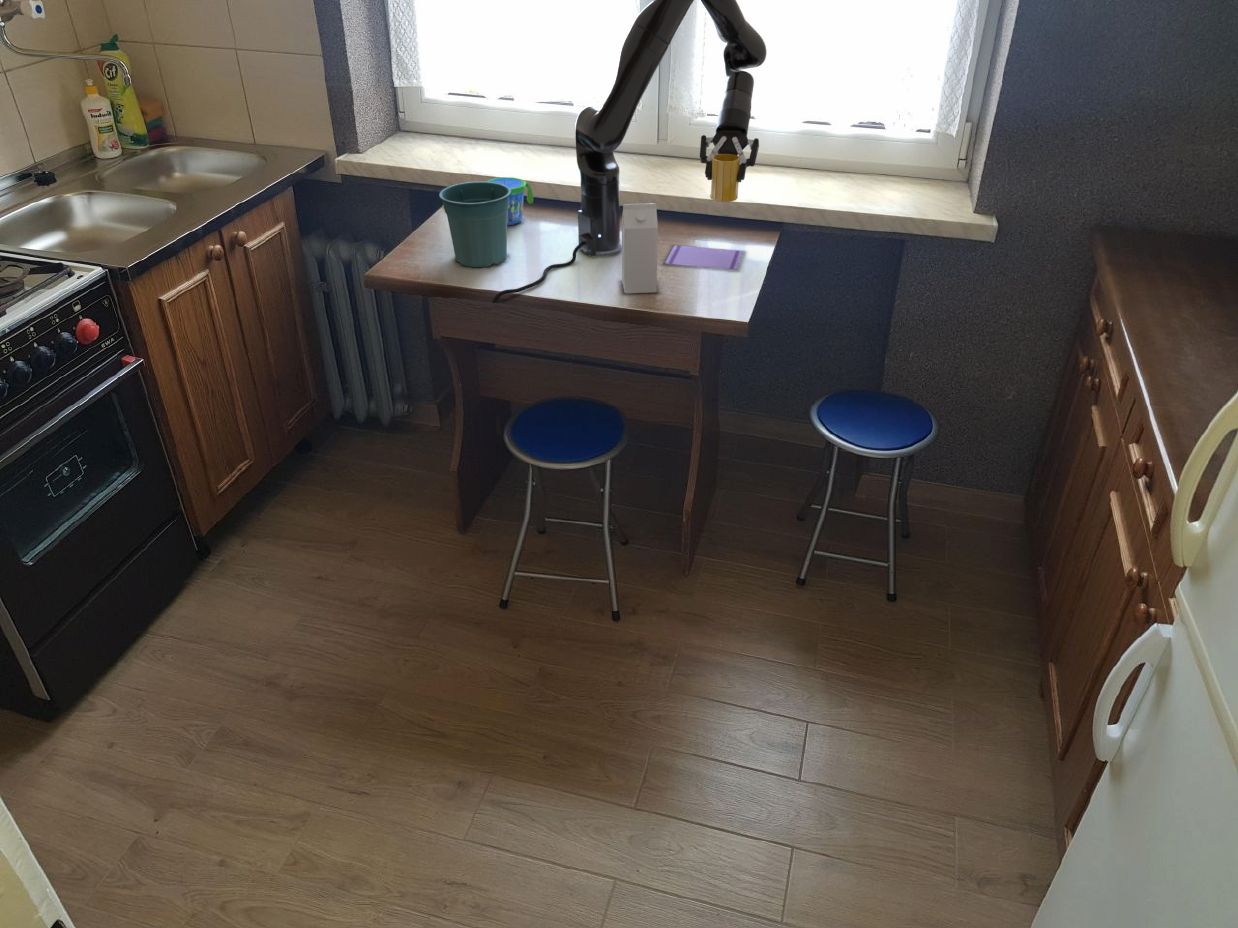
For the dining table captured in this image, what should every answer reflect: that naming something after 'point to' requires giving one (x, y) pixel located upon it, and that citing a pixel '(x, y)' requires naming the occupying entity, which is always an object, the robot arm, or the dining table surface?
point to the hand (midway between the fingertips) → (724, 179)
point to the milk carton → (639, 248)
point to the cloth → (704, 257)
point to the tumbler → (724, 177)
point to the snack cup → (515, 197)
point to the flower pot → (477, 221)
